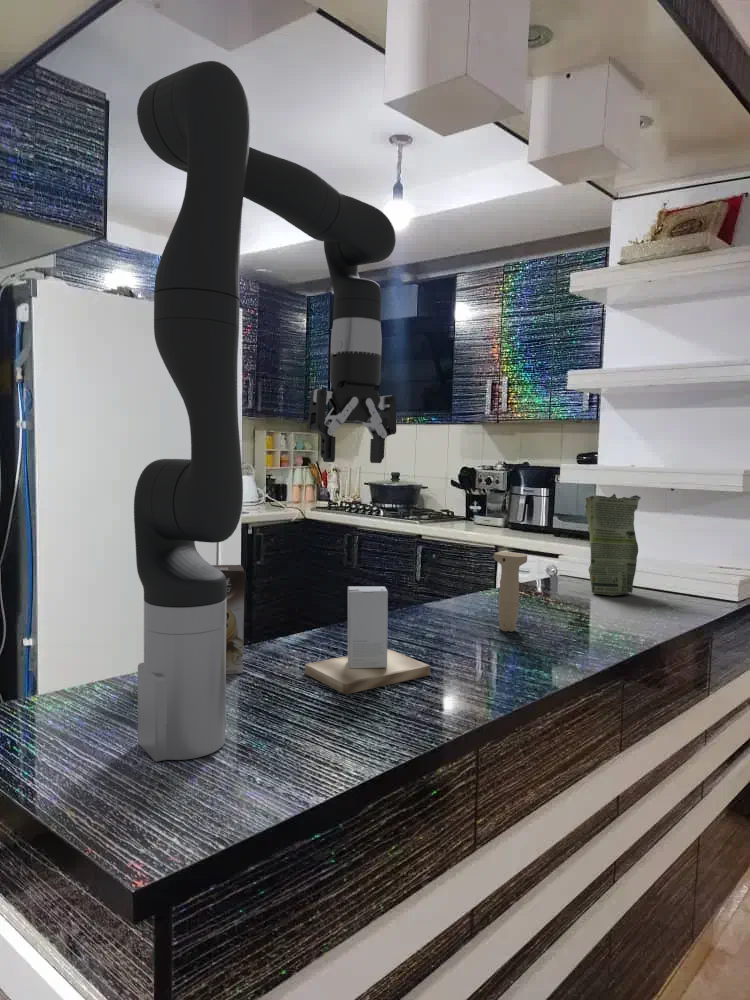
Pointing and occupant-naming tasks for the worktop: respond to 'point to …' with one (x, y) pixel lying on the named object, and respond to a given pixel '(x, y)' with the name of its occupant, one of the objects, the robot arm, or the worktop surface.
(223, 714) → the robot arm
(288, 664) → the worktop surface
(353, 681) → the birch board
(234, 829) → the worktop surface
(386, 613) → the skincare box
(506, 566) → the handle
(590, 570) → the pouch
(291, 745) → the worktop surface
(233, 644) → the coffee box
